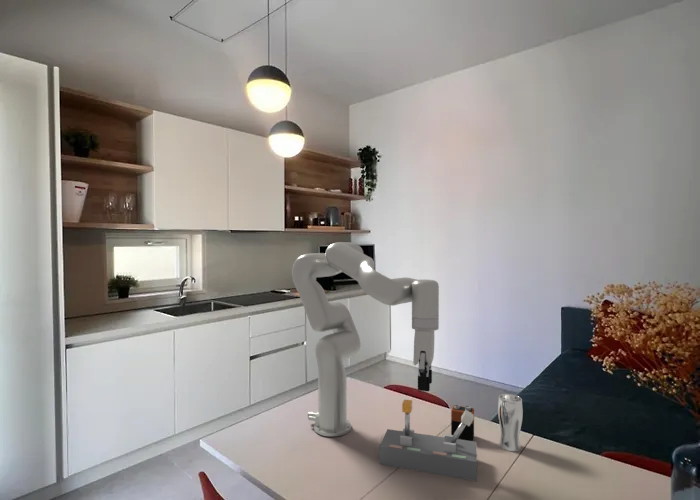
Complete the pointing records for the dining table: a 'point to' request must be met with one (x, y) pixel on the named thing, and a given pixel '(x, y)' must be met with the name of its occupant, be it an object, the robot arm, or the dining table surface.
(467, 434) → the battery
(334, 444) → the dining table surface
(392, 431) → the switch box
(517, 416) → the beer glass
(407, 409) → the orange lever
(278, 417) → the dining table surface
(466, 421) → the on lever
